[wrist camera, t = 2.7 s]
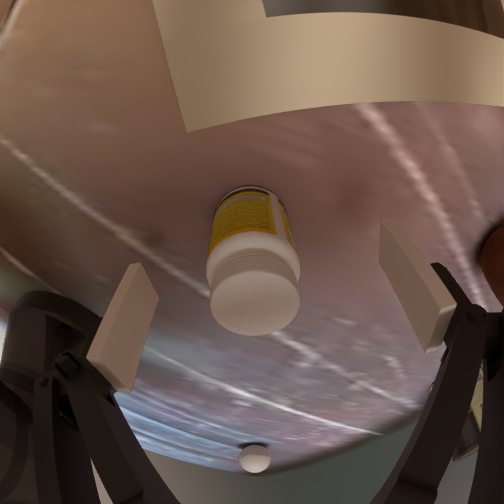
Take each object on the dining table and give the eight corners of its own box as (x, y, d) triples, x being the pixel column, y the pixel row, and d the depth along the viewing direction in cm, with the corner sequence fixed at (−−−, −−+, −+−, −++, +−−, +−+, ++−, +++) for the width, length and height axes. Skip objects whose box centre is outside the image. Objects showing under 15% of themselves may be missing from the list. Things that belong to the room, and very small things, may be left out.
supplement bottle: (201, 223, 20) (180, 313, 13) (243, 170, 18) (242, 241, 11) (257, 258, 21) (263, 353, 14) (300, 212, 19) (331, 298, 12)
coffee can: (431, 400, 40) (452, 464, 28) (426, 381, 35) (454, 460, 23) (478, 372, 37) (505, 433, 25) (481, 347, 32) (517, 421, 20)
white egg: (276, 445, 45) (278, 471, 40) (251, 451, 47) (252, 476, 42) (250, 435, 41) (251, 465, 37) (224, 442, 43) (224, 469, 39)
